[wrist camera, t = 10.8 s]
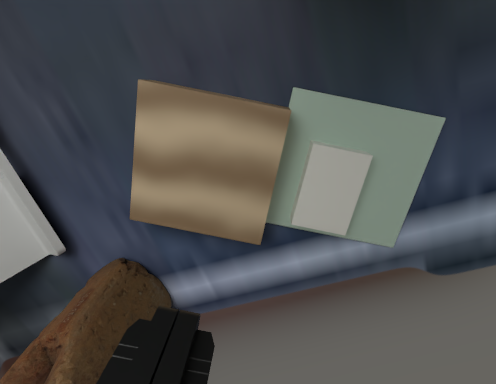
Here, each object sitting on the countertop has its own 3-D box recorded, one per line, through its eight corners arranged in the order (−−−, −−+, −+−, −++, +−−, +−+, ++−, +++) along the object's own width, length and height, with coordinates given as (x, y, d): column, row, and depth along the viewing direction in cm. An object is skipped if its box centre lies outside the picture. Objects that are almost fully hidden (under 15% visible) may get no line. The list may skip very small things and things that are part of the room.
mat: (293, 87, 30) (293, 87, 30) (444, 117, 30) (445, 118, 30) (262, 220, 35) (262, 221, 35) (392, 246, 35) (393, 247, 35)
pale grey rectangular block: (373, 155, 29) (366, 151, 31) (313, 143, 29) (310, 140, 31) (345, 235, 32) (341, 227, 34) (291, 224, 32) (290, 216, 34)
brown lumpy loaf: (183, 309, 40) (109, 507, 21) (137, 327, 41) (30, 527, 23) (138, 244, 37) (5, 406, 18) (91, 266, 39) (-77, 437, 20)
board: (154, 80, 30) (138, 79, 27) (288, 107, 31) (291, 110, 27) (144, 205, 35) (129, 219, 31) (260, 228, 35) (260, 245, 32)
